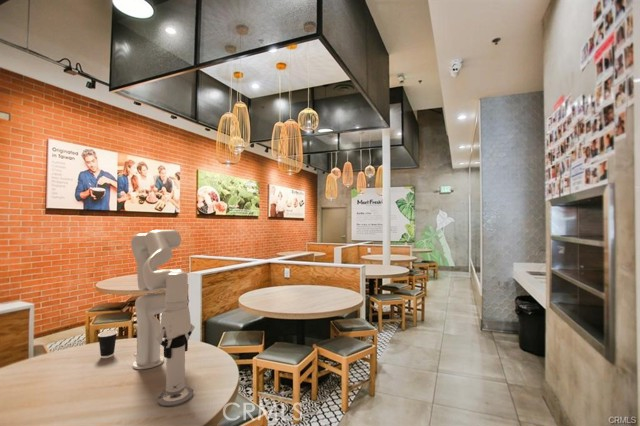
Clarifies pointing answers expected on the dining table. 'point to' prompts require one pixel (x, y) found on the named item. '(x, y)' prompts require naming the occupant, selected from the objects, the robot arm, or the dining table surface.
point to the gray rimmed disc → (175, 398)
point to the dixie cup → (107, 343)
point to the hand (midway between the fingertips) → (176, 353)
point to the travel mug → (176, 367)
